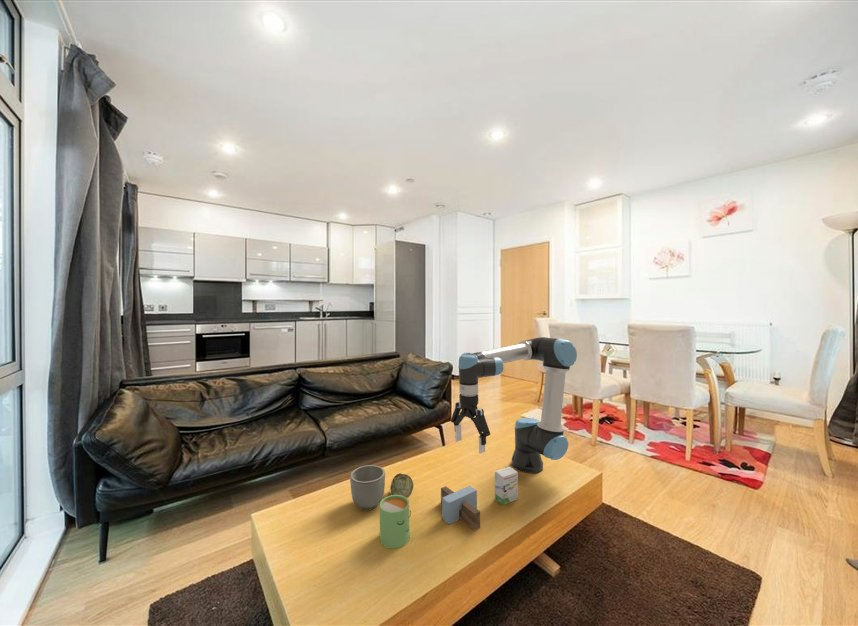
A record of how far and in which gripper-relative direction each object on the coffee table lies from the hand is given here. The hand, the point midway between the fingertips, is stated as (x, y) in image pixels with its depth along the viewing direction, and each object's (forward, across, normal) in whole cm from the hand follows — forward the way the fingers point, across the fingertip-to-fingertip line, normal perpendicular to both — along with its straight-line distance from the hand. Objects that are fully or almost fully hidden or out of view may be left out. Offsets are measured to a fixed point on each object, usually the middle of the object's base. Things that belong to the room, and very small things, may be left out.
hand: (469, 446), depth 130 cm
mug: (+23, -2, -33) cm, 40 cm away
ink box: (+24, +7, +14) cm, 29 cm away
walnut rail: (+23, +2, -8) cm, 25 cm away
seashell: (+23, -21, -20) cm, 37 cm away
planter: (+23, -24, -34) cm, 47 cm away
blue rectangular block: (+24, +2, -8) cm, 25 cm away
